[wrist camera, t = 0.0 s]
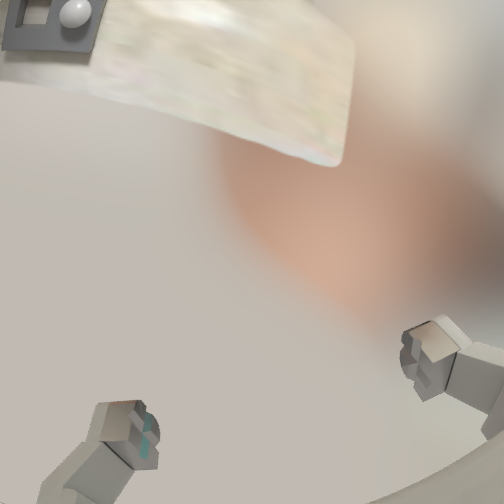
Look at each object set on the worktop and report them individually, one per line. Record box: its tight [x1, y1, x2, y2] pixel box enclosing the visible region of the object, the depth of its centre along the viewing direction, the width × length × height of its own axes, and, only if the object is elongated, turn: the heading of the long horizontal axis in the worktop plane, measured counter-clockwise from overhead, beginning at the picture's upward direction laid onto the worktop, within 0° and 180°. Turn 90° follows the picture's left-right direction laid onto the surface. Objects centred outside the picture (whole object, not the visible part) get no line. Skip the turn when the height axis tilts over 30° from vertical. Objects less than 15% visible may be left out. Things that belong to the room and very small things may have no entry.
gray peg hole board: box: [2, 0, 107, 53], centre depth 28 cm, size 18×15×6 cm
